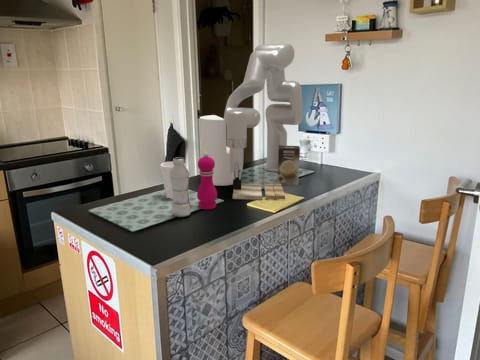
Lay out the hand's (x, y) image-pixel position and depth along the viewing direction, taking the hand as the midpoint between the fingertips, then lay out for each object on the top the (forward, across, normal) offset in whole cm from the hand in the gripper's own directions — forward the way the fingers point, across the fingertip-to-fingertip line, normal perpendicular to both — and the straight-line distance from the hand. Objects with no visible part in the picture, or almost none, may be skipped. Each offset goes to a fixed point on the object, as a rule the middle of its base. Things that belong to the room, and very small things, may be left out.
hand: (237, 188), depth 159 cm
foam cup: (+3, +3, -24) cm, 25 cm away
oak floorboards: (+2, 0, +15) cm, 15 cm away
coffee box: (+2, -15, +22) cm, 27 cm away
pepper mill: (+3, +15, -10) cm, 18 cm away
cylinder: (+2, -20, -7) cm, 22 cm away
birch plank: (+2, 0, +4) cm, 4 cm away
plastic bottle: (+3, +24, -18) cm, 30 cm away
